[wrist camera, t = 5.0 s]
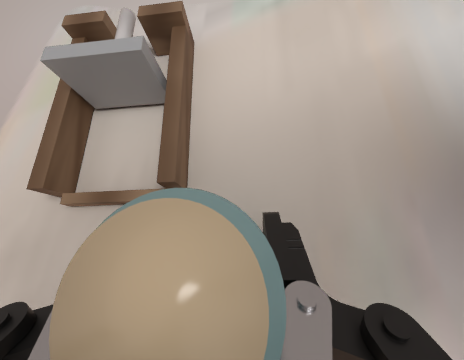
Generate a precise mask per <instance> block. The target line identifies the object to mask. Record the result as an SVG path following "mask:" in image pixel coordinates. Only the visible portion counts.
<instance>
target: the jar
mask: <svg viewBox="0 0 464 360" xmlns="http://www.w3.org/2000/svg"><path fill="white" fill-rule="evenodd" d="M286 317H287V316H286V296H285V289H284V283H283V278H282V275H281V271H280V268H279V264H278V262H277V259H276V257H275V254H274V252H273V250H272V248H271V246H270V244H269V242H268V241H267V239H266V237H265V235H264V234H263V233H262V231H261V230H260V229H259V227H258V226H257V225H256V223H255V222H254V221H253V220H252V219H251V218H250V217H249V216H248V215H247V214H246V213H245V212H243V211H242V210H241V209H240V208H238V207H237V206H236V205H234V204H233V203H231V202H229V201H228V200H226V199H225V198H222V197H220V196H218V195H216V194H213V193H210V192H207V191H203V190H198V189H192V188H170V189H162V190H158V191H154V192H150V193H148V194H145V195H142V196H140V197H138V198H136V199H134V200H132V201H130V202H128V203H126V204H125V205H123V206H122V207H120V208H119V209H117V210H116V211H115V212H113V213H112V214H111V215H110V216H109V217H108V218H106V219H105V220H104V221H103V222H102V223H101V224H100V225H99V226H98V228H97V229H96V230H95V231H94V232H93V233H92V234H91V235H90V236H89V237H88V238H87V239H86V240H85V242H84V243H83V244H82V245H81V247H80V248H79V249H78V251H77V252H76V254H75V255H74V257H73V259H72V260H71V262H70V263H69V265H68V267H67V269H66V271H65V273H64V275H63V278H62V280H61V283H60V286H59V288H58V291H57V294H56V298H55V301H54V305H53V310H52V316H51V322H50V334H49V349H50V360H280V357H281V353H282V348H283V343H284V338H285V330H286Z"/></svg>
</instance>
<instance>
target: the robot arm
mask: <svg viewBox="0 0 464 360" xmlns="http://www.w3.org/2000/svg"><path fill="white" fill-rule="evenodd" d="M263 234H264V235H265V237H266V239H267V241H268V242H269V244H270V246H271V248H272V250H273V252H274V254H275V257H276V259H277V262H278V264H279V268H280V271H281V275H282V278H283V283H284V289H285V296H286V316H287V317H286V330H285V338H284V343H283V348H282V353H281V357H280V360H452V359H451V358H450V357H449V356H448V355H447V353H446V352H445V351H444V350H443V349H442V348H441V347H440V346H439V345H438V344H437V343H436V342H435V341H434V340H433V339H432V338H431V336H430V335H429V334H428V333H427V332H426V331H425V330H424V329H423V328H422V327H421V326H420V325H419V324H418V323H417V322H416V321H415V320H414V319H413V318H412V317H411V316H409V315H408V314H407V313H405V312H404V311H402V310H400V309H399V308H397V307H394V306H392V305H388V304H384V303H375V304H372V305H370V306H368V307H367V309H366V310H362V309H359V308H356V307H352V306H349V305H346V304H343V303H340V302H338V301H336V300H334V299H332V298H331V297H329V296H328V295H327V294H326V293H325V292H324V291H323V290H322V289H321V288H320V287H319V285H318V283H317V281H316V279H315V276H314V273H313V270H312V267H311V265H310V262H309V259H308V256H307V253H306V251H305V249H304V245H303V242H302V241H301V237H300V234H299V231H298V229H297V228H296V227H295V226H294V225H293V224H292V223H281V219H280V215H279V212H265V213H263ZM53 305H54V304H53ZM53 305H50V306H46V307H43V308H40V309H36V310H32V309H31V308H30V307H29V306H28V305H27V304H26V303H24V302H16V303H12V304H9V305H6V306H4V307H2V308H0V360H50V349H49V334H50V322H51V316H52V310H53Z"/></svg>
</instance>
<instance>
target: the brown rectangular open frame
mask: <svg viewBox="0 0 464 360" xmlns="http://www.w3.org/2000/svg"><path fill="white" fill-rule="evenodd" d="M137 17H138V19H139V21H140V23H141V25H142V27H143V29H144V31H145V33H146V35H147V37H148V39H149V41H150V43H151V45H152V47H153V49H154V51H155V53H156V55H157V56H160V55H169V64H168V74H167V84H166V94H165V104H164V114H163V124H162V135H161V145H160V155H159V165H158V175H157V183H159V184H160V185H162V186H163V187H165V188H166V189H170V188H187V181H188V160H189V140H190V119H191V99H192V79H193V58H194V40H193V37H192V33H191V30H190V26H189V23H188V19H187V16H186V12H185V9H184V5H183V2H182V1H177V2H170V3H162V4H153V5H146V6H139V10H138V15H137ZM62 27H63V28H64V29H65V30H66V31H67V33H68V34H69V35H70V36H71V37H72V38H73V39H72V42H71V44H76V43H85V42H94V41H103V40H111V39H115V35H116V30H117V29H116V27H115V25H114V24H113V22H112V21H111V19H110V17H109V16H108V14H107V13H106V11H98V12H90V13H82V14H75V15H67V16H65V17H64V20H63V23H62ZM93 111H94V107H93V106H92V105H91V104H90V103H89V102H87V101H86V100H85V99H84V98H83V97H82V96H81V95H79V94H78V93H77V92H76V91H75V90H74V89H72V88H71V87H70V86H69V85H68V84H67V83H66V82H64V81H63V80H62V79H61V78H60V81H59V84H58V88H57V91H56V94H55V98H54V101H53V104H52V107H51V111H50V114H49V117H48V120H47V124H46V127H45V130H44V133H43V137H42V140H41V143H40V147H39V150H38V153H37V156H36V160H35V163H34V166H33V169H32V173H31V176H30V179H29V183H28V186H27V189H29V190H33V191H37V192H41V193H45V194H49V195H53V196H57V197H62V198H61V202H60V204H62V205H67V206H95V205H119V204H126V203H128V202H130V201H132V200H134V199H136V198H138V197H140V196H142V195H145V194H148V193H150V192H154V191H158V190H162V189H146V190H125V191H104V192H83V193H75V190H76V185H77V181H78V177H79V172H80V168H81V163H82V159H83V155H84V150H85V146H86V141H87V137H88V133H89V128H90V124H91V119H92V115H93Z"/></svg>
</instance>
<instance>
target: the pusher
mask: <svg viewBox="0 0 464 360" xmlns="http://www.w3.org/2000/svg"><path fill="white" fill-rule="evenodd" d="M135 20H136V17H135V14H134V13H133V12H132V11H131V10H130V9H128V8H122V9H121V12H120V17H119V21H118V26H117V30H116V35H115V39H111V40H103V41H94V42H85V43H76V44H68V45H59V46H50V47H45V49H44V51H43V54H42V57H41V60H40V61H41V62H42V63H44V64H45V65H46V66H47V67H48V68H49V69H51V70H52V71H53V72H54V73H55V74H56V75H57V76H59V77H60V78H61V79H62V80H63V81H64V82H66V83H67V84H68V85H69V86H70V87H71V88H72V89H74V90H75V91H76V92H77V93H78V94H79V95H81V96H82V97H83V98H84V99H85V100H86V101H87V102H89V103H90V104H91V105H92V106H93V107H94V108H96V109H101V108H113V107H125V106H137V105H148V104H160V103H165V94H166V84H167V80H166V78H165V77H164V75H163V73H162V71H161V69H160V67H159V65H158V63H157V61H156V59H155V57H154V55H153V54H152V52H151V50H150V48H149V46H148V44H147V42H146V40H145V38H144V36H138V37H133V32H134V26H135Z"/></svg>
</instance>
